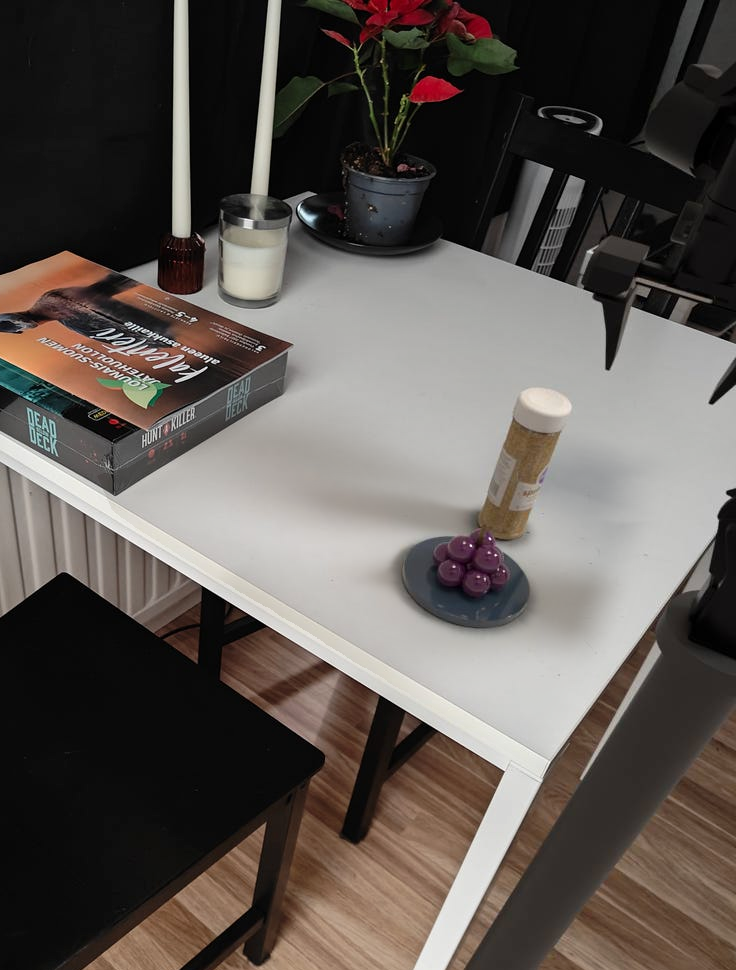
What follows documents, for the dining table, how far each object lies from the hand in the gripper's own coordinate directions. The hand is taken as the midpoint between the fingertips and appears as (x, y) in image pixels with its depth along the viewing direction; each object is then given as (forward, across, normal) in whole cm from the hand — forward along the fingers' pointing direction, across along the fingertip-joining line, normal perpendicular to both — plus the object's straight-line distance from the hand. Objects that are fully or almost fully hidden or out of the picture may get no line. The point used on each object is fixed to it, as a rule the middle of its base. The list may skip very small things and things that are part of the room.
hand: (658, 385), depth 80 cm
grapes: (+13, +8, +20) cm, 25 cm away
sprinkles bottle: (+13, +8, +10) cm, 18 cm away
